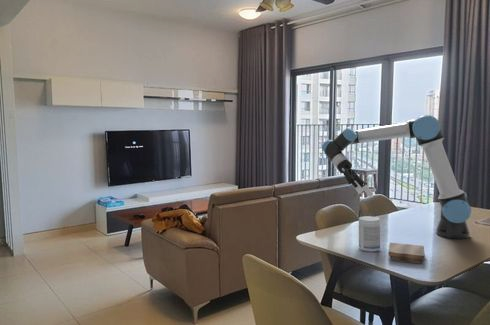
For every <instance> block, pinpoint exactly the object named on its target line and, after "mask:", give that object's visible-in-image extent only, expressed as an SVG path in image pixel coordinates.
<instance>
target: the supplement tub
mask: <svg viewBox="0 0 490 325" xmlns="http://www.w3.org/2000/svg"><path fill="white" fill-rule="evenodd" d="M358 248H359V249H360V250H361V251H364V252H368V253H369V252H370V253H373V252H379V251H380V250H381V220H380V218H379V217H376V216H370V215H367V216H366V215H365V216H360V217H358Z"/></svg>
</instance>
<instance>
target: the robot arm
mask: <svg viewBox="0 0 490 325" xmlns="http://www.w3.org/2000/svg"><path fill="white" fill-rule="evenodd" d="M401 138H409V139H415V138H416V142H417V145H418V146H419V147H421V148H422V149H423V150H424V151H423V152H424V154H425V157H426V160H427V162H428V165H429V167H430V171H431V173H432V176H433V179H434V181H435V184H436V186H437V189H438V192H439V195H438V197H437V200H438V202H439V205H440V220H439V221H438V224H437V227H436V229H435V230H436V232H435V233H436V235H437V236H441V237H444V238H448V239H458V240H459V239H460V240H463V239H464V240H465V239H468V238H470V230H469V227H468V224H467V221H468V219H469V218H470V217H471V215H472V207H471V206H470V204H469V202H468V195H467V192H465V191H464V190H462V189H460V187H459V185H458V182H457V180H456V177H455V175H454V174H455V173H454V172H453V169H452V166H451V163H450V161H449V158H448V155H447V153H446V150H445V147H444V145H443V140H444V139H445V137H444V134H443V132H442V128H441V124H440V122H439V119H437V118H436V117H435V116H433V115H430V114H424V115H421V116H418V117H417V118H414V119H411V120H407V121H406V122H403V123H397V124H396V123H395V124H390V125H382V126H376V127H375V126H374V127H370V128H360V129H357V130H354V129H353V128H351V127H349V126H348V127H346V128H345V129H344V130H342V132H341V133H339V135H337V137H335V138H334V139H333V140H332V139H328V140H326V141H324V142H323V143H322V144H321V149H322V151H323V152H324V154H325V156H326V157H327V158H328V159H329V160H330V161H331V163H332V165H333V166H334V167H335V168H336V169H337V171H338V172H339V173H340V174H343V176H344V178H345V180H346V181H347V182H348V185H351V186H352V187H353V188H354V190H355V191H356V192H357V193H358V194H359V195H361V194H362V193H363V192H365V194H366V195H367V196H368V198H371V197H372V196H373V195H374V192H373V191H372V190H371V188H369V186H368V182H366V181H365V180H363V179H362V178H361V176H359V175H358V173H357V172H356V171H355V170H354V169H352V167H353V164H352V163H351V161H350V160H349V159H348V157H347V156H346V155H345V154H344V153H343V151H344V150H346V148H347V147H348V146H349V145H355V144H363V143H370V142H378V141H385V140H393V139H401Z"/></svg>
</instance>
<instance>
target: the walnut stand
mask: <svg viewBox="0 0 490 325" xmlns="http://www.w3.org/2000/svg"><path fill="white" fill-rule="evenodd" d="M387 254H388V256H392V257H391V260H392V261H395V262H403V263H411V264H419V265H420V264H421V262H422V261H421V260H426V254H425V246H424V245H420V244H419V245H417V244H408V243H399V242H398V243H397V242H389V246H388V253H387Z"/></svg>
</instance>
